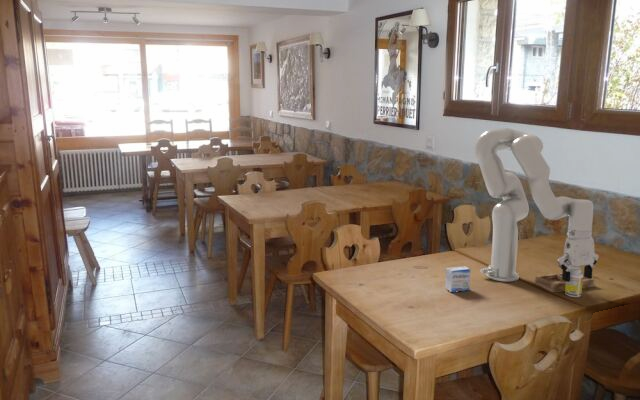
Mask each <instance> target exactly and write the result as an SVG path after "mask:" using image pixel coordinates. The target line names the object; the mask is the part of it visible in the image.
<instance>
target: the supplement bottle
mask: <svg viewBox="0 0 640 400" xmlns="http://www.w3.org/2000/svg"><path fill="white" fill-rule="evenodd" d="M569 271H570V282H566V285H565V291H564V293H565V295H566V296H568V297H570V298H580V297H581V296H582V293H583V288H582V284H583V275H584V274H583V273H582V268H580V267H579V266H577V267H574V266H572V267H571V269H570V270H569ZM582 274H583V275H582Z"/></svg>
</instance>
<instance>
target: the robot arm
mask: <svg viewBox="0 0 640 400" xmlns="http://www.w3.org/2000/svg"><path fill="white" fill-rule="evenodd" d="M543 148H544V145H543V141H542V139H541V138H540V137H539V136H537V135H534V134H531V133H528V132H523V131H520V130H516V129H513V128H508V127H507V128H506V127H503V128H493V129H492V128H491V129H489V130H488V129H487V130H486V131H484V132H483V133H481V134H480V135H479V137H478V138H477V139H476V141H475V145H474V154H475V158H476V161H477V163H478V165H479V168H480V171H481V175H482V178H483V181H484V184H485V187H486V190H487V192H488V194H489V195H490V197H491V198H494V199H501V198H502V200H501V201H499V202H498V203H497V204H495V205H494V207H493V209H492V211H491V218H492V219H491V220H492V243H491V244H492V245H491V258H490V259H491V260H490V264H488V267H485V268H480V269H479V273H480V274H485V275H486V277H487V278H489V279H491V280H494V281H497V282H503V283H506V282H507V283H508V282H516V281H518V280H519V279H520V274H519V273H517V272H516V268H517V256H518V255H517V254H518V246H519V245H518V242H519V239H518V238H519V230H518V229H519V228H518V224H517V223H518V222H519V221H521V220H523V219H524V220H525V218H526V217H527V216H528V215H529V211H530V206H529V202H528V199H527V196H526V193H525V190H524V187H523V185H522V181H521V180H520V178H519V177H518V176H517V175H516V174H515V173H514V172H510V171H505V168H504V165H503V162H502V160H501V158H500V156H499V155H498V153H497V152H498V151H501V150H506V151H511V153H512V155H513V156H514V157H515V160H516V161H517V163H518V164H519V166H520V167H521V170H522V171H523V173H524V175H525V176H526V179H528V186H529V190H530V195H531V197H532V199H533V201H534V203H535V205H536V206H537V208H538V210H539V212H540V213H541V214H542V216H543V217H544V218H546V219H548V220H550V221H558V220H560V219H562V218H566V217H569V218H568V228H567V229H568V231H567V232H566V236H567V237H566V239H565V243H564V249H563V255H562V256H560V257H559V258H558V259H557V260H556V262H557V263H558V267H559V268H560V270H562V271H561V273H562V280H564V281H566V282H570V271H569V270H570V269H571V267H582V266H583V267H584V271H583V275H584V277H587V278H589V279H593V269H594V268H595V265H596V264H597V262H598V259H599V256H600V255H599V254H597V253H595V250H596V249H595V241H594V237H592V236H593V235H592V233H593V222H594V221H593V220H594V219H593V218H594V217H593V216H594V203H593V201H592V200H589V199H585V198H584V199H581V198H579V199H578V198H577V199H576V198H572V197H569V196H565V195H564V196H563V195H562V196H557V197H556V196H555V194H554V192H553V191H552V188H551V186H550V174H551V168H550V166H549V164H548V162H547V161H546V160H545V158H544V156H543V154H542V151H543Z"/></svg>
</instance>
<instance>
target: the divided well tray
mask: <svg viewBox="0 0 640 400" xmlns="http://www.w3.org/2000/svg"><path fill="white" fill-rule="evenodd" d="M581 274H582V275H583V284H582V289H586V288H587V289H588V288H594V287H595V286H594V285H595V279H594V278H592V279H589V278H587V277H584V273H581ZM534 279H535V280H534V281H535V282H534V284H535V285H537V286H539V287H541V288H543V289H545V290H547V291H549V292H551V293H557V292H565V285H566V281H564V280H562V272H559V273H550V274H544V275H543V274H542V275H535V278H534Z"/></svg>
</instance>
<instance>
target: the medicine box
mask: <svg viewBox="0 0 640 400" xmlns="http://www.w3.org/2000/svg"><path fill="white" fill-rule="evenodd" d="M470 279H471V269H470V268H469V267H467V266H465V265H464V266H463V265H461V266H451V267H446V269H445V288H446V289H445V290H446V291H448V290H449V291H448V292H450V293H451V292H454V293H457V292H456V291H462V292H466V291H465V290H469V291H470V284H471V283H470V282H471V280H470Z"/></svg>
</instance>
